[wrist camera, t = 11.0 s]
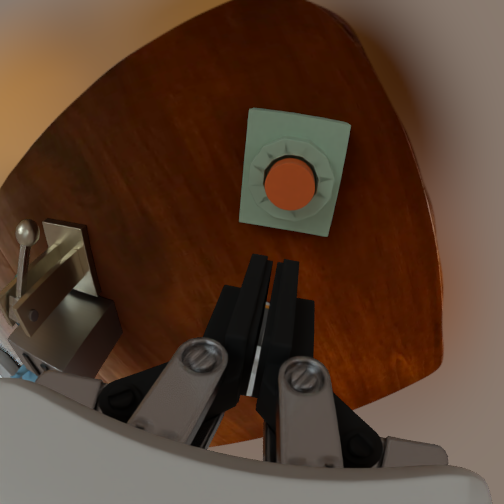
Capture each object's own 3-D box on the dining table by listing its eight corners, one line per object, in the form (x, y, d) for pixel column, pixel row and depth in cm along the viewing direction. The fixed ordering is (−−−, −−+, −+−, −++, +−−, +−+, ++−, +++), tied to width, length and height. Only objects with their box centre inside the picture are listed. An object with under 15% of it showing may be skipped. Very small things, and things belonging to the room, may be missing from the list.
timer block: (253, 107, 22) (244, 110, 19) (347, 122, 22) (354, 127, 18) (243, 212, 28) (234, 231, 24) (326, 226, 27) (328, 247, 24)
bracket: (47, 217, 33) (-21, 272, 21) (86, 224, 32) (12, 289, 21) (64, 280, 39) (12, 338, 27) (101, 292, 38) (49, 360, 26)
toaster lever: (31, 219, 28) (13, 215, 24) (46, 222, 27) (28, 218, 24) (21, 314, 27) (4, 316, 24) (36, 322, 27) (18, 325, 24)
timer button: (270, 154, 21) (267, 159, 19) (317, 162, 21) (319, 168, 19) (265, 198, 23) (261, 206, 21) (310, 205, 22) (310, 214, 21)
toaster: (57, 282, 40) (5, 340, 27) (113, 300, 38) (60, 374, 26) (69, 313, 43) (25, 370, 31) (122, 332, 42) (80, 402, 30)
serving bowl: (38, 384, 76) (30, 397, 70) (15, 373, 81) (7, 384, 75) (5, 343, 66) (-6, 357, 60) (-14, 336, 71) (-23, 347, 65)
